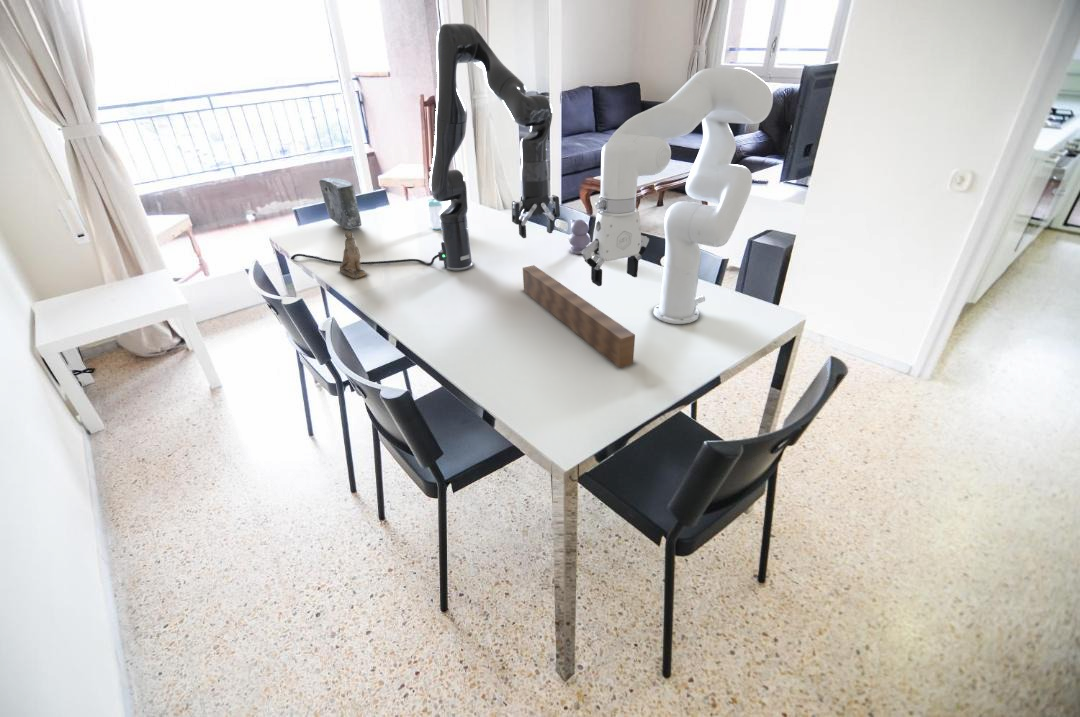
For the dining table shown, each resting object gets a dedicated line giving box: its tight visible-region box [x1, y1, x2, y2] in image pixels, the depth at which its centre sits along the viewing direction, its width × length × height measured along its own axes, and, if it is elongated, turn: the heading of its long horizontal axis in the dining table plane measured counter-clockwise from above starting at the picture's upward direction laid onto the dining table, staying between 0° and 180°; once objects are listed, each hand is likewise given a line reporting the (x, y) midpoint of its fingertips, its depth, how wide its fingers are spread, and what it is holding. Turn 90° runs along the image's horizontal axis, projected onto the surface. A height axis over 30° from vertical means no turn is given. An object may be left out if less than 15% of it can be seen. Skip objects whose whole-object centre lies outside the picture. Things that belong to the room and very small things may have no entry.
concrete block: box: [318, 176, 362, 230], centre depth 224 cm, size 27×9×20 cm, turn 36°
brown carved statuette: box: [339, 229, 367, 280], centre depth 174 cm, size 12×6×18 cm, turn 43°
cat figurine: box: [568, 218, 591, 255], centre depth 187 cm, size 8×8×12 cm
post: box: [522, 264, 636, 369], centre depth 138 cm, size 53×4×8 cm, turn 27°
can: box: [426, 198, 445, 230], centre depth 220 cm, size 7×7×12 cm
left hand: (536, 235), depth 145 cm, fingers open, 8 cm apart
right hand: (614, 279), depth 114 cm, fingers open, 9 cm apart
